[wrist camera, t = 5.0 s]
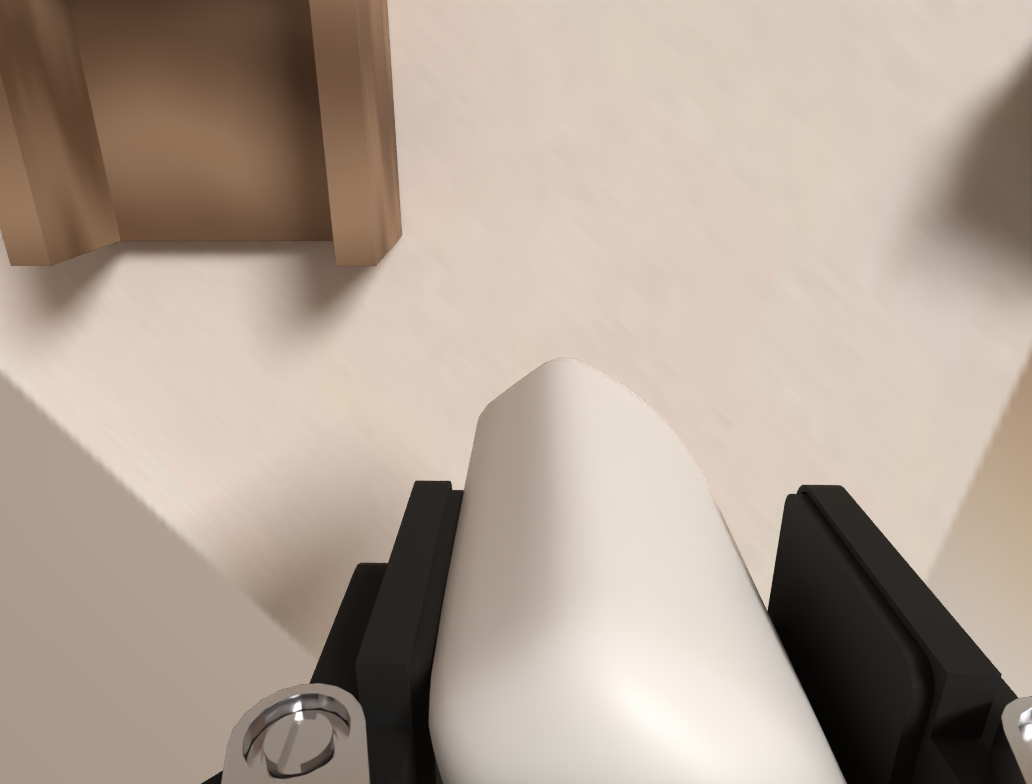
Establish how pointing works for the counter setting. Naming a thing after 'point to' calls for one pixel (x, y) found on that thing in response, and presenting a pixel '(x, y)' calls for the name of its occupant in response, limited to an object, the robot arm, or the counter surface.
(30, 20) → the open wooden box
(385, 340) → the counter surface
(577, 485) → the eye dropper bottle
